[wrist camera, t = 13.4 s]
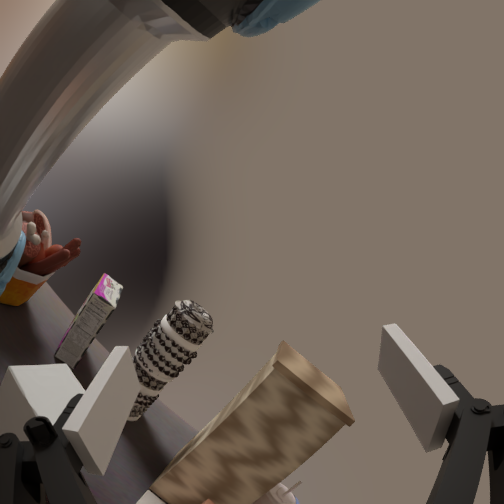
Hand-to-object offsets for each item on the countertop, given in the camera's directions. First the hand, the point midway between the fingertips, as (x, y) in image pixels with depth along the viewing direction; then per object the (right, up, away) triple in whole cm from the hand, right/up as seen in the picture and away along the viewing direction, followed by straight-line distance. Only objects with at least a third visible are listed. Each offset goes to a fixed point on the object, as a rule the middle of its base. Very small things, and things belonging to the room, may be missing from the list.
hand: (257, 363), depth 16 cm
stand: (-11, -35, +28) cm, 46 cm away
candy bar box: (-36, -14, +39) cm, 55 cm away
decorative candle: (-25, -23, +38) cm, 51 cm away
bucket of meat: (-50, -2, +35) cm, 61 cm away
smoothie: (-1, -43, +28) cm, 52 cm away
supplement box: (-29, -20, +10) cm, 37 cm away
